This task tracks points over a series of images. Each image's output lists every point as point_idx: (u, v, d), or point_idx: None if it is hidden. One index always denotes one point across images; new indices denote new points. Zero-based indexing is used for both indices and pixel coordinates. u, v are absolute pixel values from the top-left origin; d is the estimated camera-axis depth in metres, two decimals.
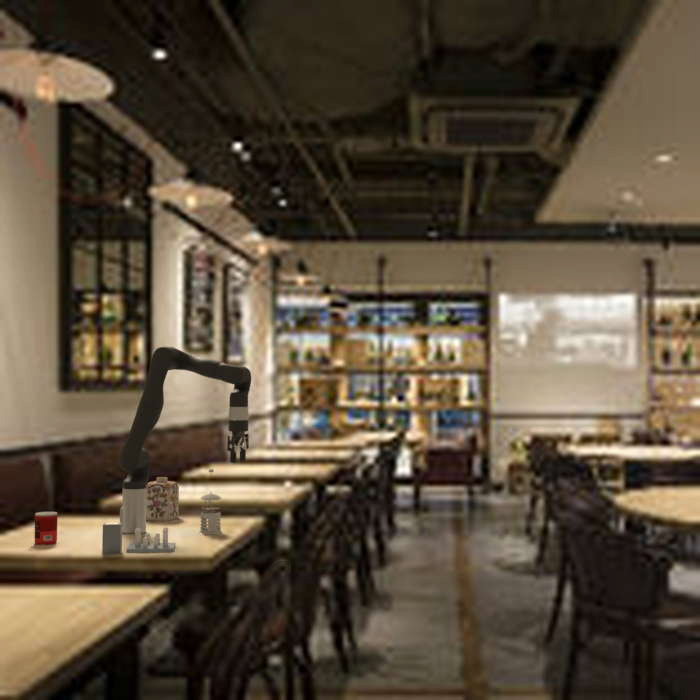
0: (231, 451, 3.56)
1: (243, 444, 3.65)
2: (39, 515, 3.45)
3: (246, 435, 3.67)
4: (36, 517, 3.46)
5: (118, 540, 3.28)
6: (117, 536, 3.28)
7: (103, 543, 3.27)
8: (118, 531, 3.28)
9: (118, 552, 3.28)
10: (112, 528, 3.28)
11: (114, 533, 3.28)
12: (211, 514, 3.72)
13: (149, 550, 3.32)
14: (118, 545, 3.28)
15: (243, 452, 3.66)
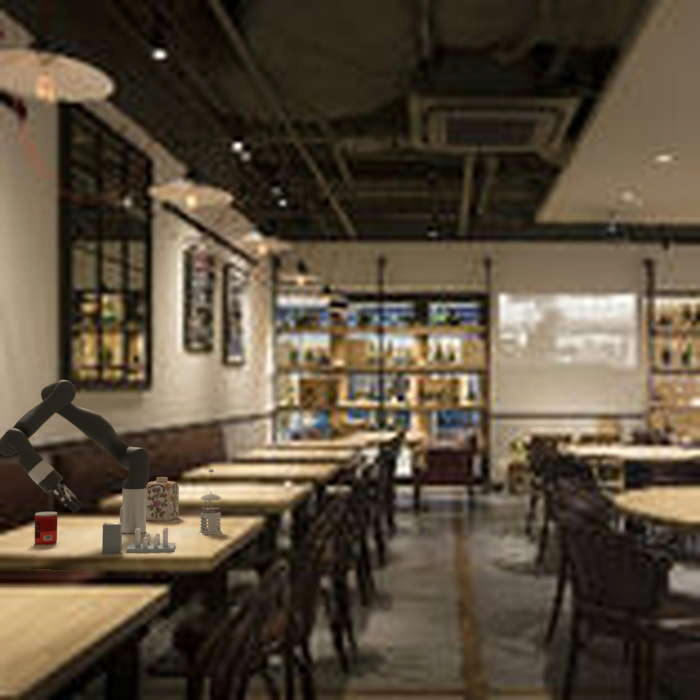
0: (67, 502, 3.23)
1: (69, 493, 3.32)
2: (39, 515, 3.45)
3: (63, 486, 3.34)
4: (36, 517, 3.46)
5: (118, 540, 3.28)
6: (117, 536, 3.28)
7: (103, 543, 3.27)
8: (118, 531, 3.28)
9: (118, 552, 3.28)
10: (112, 528, 3.28)
11: (114, 533, 3.28)
12: (211, 514, 3.72)
13: (149, 550, 3.32)
14: (118, 545, 3.28)
15: (75, 500, 3.33)
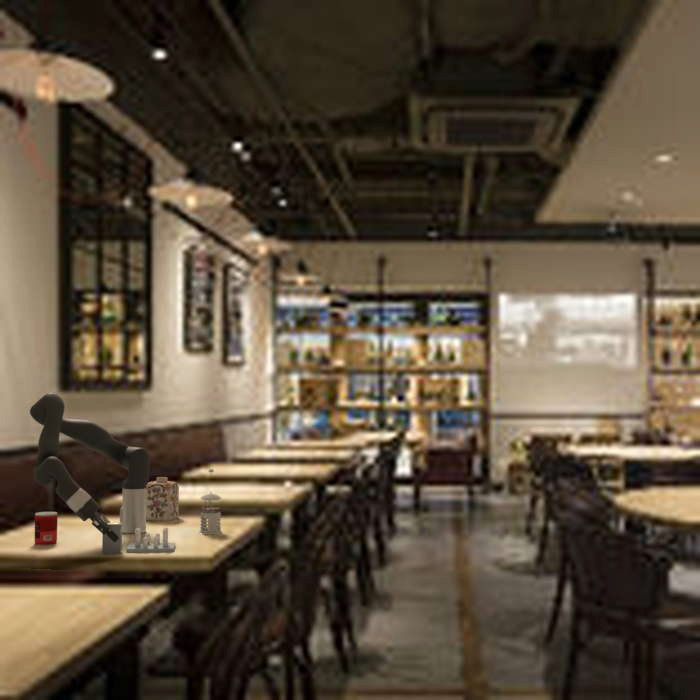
0: (107, 532, 3.26)
1: (106, 522, 3.32)
2: (39, 515, 3.45)
3: None
4: (36, 517, 3.46)
5: (118, 540, 3.28)
6: (117, 535, 3.28)
7: (103, 543, 3.27)
8: (118, 531, 3.28)
9: (118, 552, 3.28)
10: (112, 528, 3.28)
11: None
12: (211, 514, 3.72)
13: (149, 550, 3.32)
14: (118, 545, 3.28)
15: None
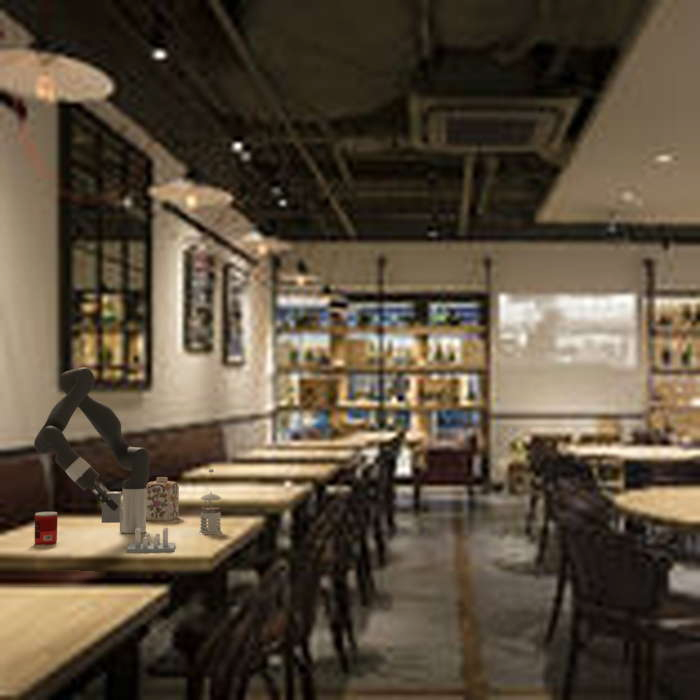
0: (106, 500, 3.26)
1: (105, 491, 3.33)
2: (39, 515, 3.45)
3: (101, 484, 3.36)
4: (36, 517, 3.46)
5: (117, 509, 3.29)
6: None
7: (102, 512, 3.28)
8: (117, 500, 3.29)
9: (117, 521, 3.29)
10: (112, 497, 3.29)
11: None
12: (211, 514, 3.72)
13: (149, 550, 3.32)
14: (117, 514, 3.29)
15: None
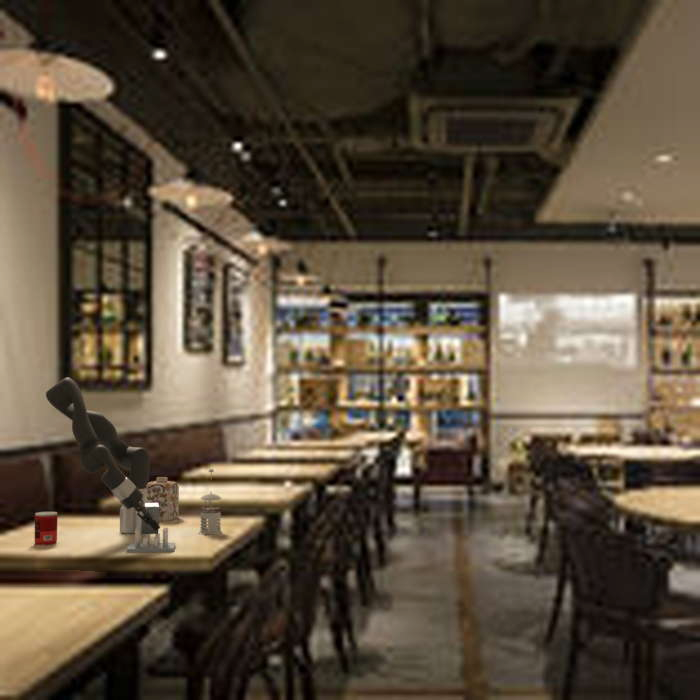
0: (150, 522, 3.39)
1: None
2: (39, 515, 3.45)
3: (141, 501, 3.47)
4: (36, 517, 3.46)
5: (156, 521, 3.42)
6: (156, 517, 3.41)
7: (142, 524, 3.41)
8: (156, 513, 3.41)
9: (156, 532, 3.42)
10: (151, 510, 3.41)
11: (153, 514, 3.41)
12: (211, 514, 3.72)
13: (149, 550, 3.32)
14: None
15: None
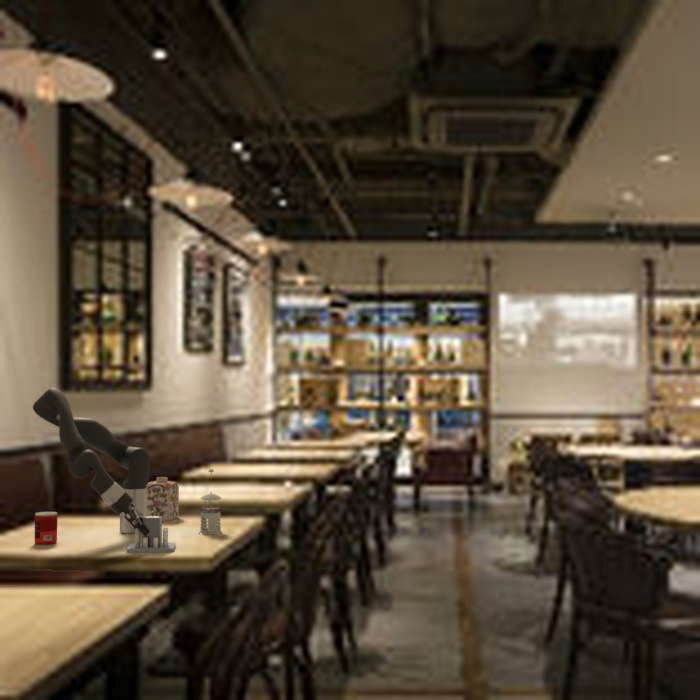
0: (138, 526, 3.33)
1: (138, 514, 3.42)
2: (39, 515, 3.45)
3: (132, 506, 3.44)
4: (36, 517, 3.46)
5: (157, 533, 3.36)
6: (156, 529, 3.36)
7: (143, 536, 3.36)
8: (157, 524, 3.36)
9: None
10: (152, 521, 3.36)
11: (153, 526, 3.36)
12: (211, 514, 3.72)
13: (149, 550, 3.32)
14: None
15: None
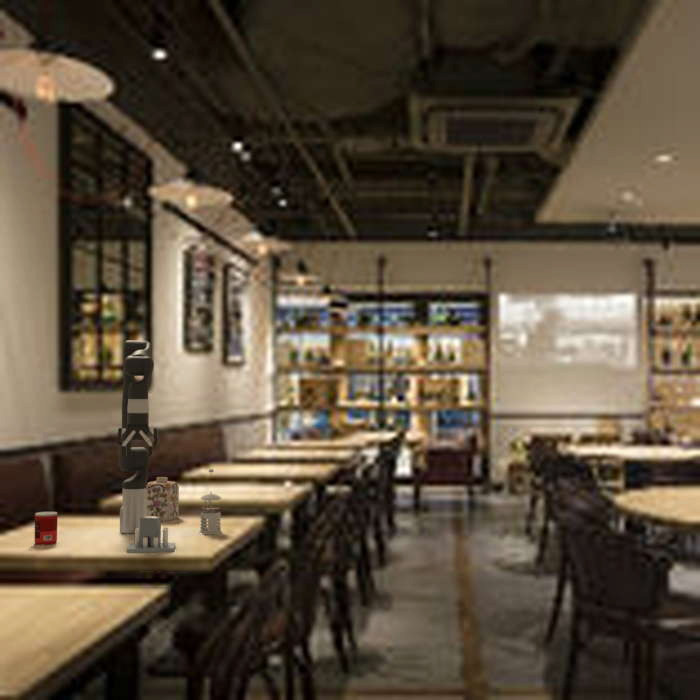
0: (155, 444, 3.45)
1: None
2: (39, 515, 3.45)
3: None
4: (36, 517, 3.46)
5: (154, 533, 3.35)
6: (153, 529, 3.35)
7: (140, 536, 3.35)
8: (154, 525, 3.35)
9: None
10: (149, 521, 3.35)
11: (151, 526, 3.35)
12: (211, 514, 3.72)
13: (149, 550, 3.32)
14: None
15: (126, 447, 3.44)
